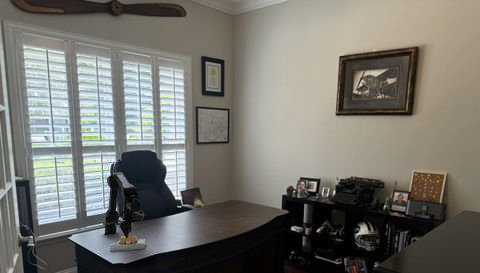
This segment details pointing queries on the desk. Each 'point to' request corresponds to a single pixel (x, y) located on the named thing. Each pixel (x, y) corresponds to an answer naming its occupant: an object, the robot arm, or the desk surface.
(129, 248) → the rail
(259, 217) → the desk surface
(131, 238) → the clip
